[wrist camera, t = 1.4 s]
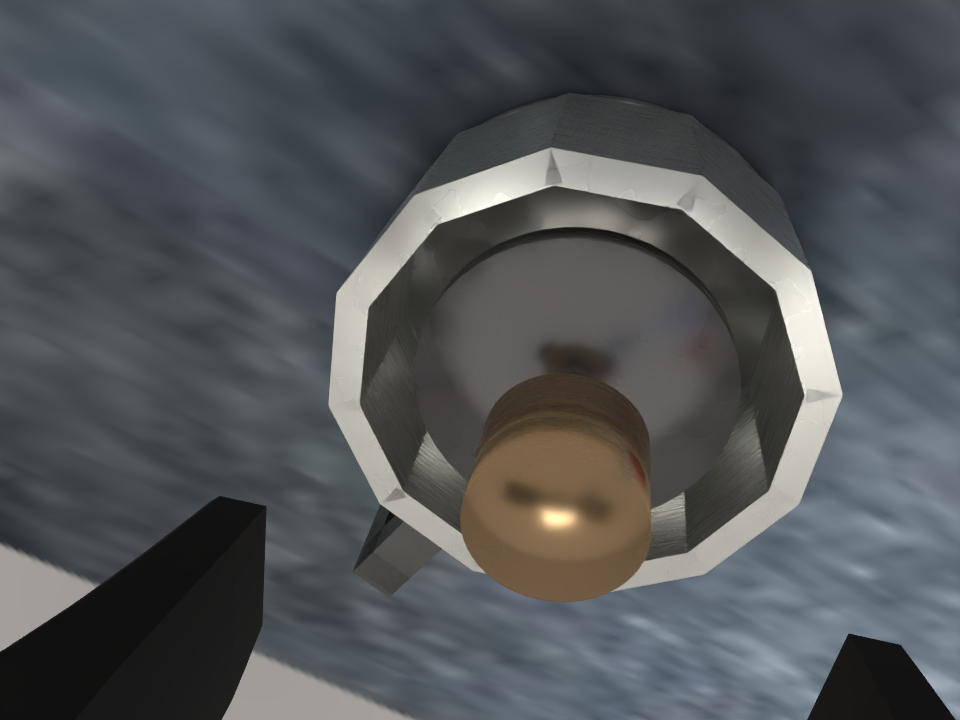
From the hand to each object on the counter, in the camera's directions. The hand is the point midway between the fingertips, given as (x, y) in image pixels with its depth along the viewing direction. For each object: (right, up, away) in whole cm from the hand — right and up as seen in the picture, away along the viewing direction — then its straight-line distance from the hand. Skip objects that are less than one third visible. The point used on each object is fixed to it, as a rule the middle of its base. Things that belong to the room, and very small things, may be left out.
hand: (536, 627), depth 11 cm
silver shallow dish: (+1, +4, +10) cm, 10 cm away
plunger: (+1, +3, +6) cm, 7 cm away
